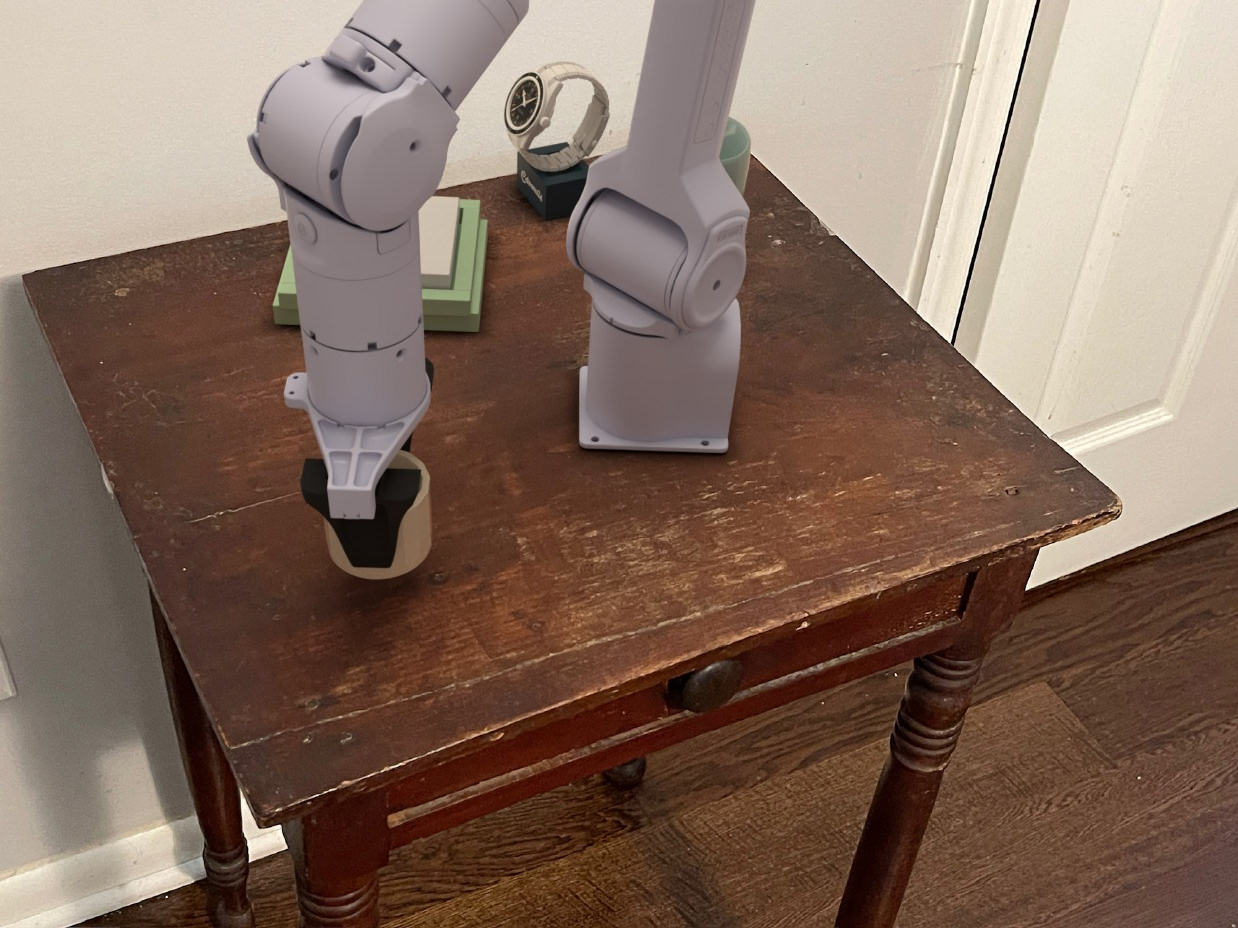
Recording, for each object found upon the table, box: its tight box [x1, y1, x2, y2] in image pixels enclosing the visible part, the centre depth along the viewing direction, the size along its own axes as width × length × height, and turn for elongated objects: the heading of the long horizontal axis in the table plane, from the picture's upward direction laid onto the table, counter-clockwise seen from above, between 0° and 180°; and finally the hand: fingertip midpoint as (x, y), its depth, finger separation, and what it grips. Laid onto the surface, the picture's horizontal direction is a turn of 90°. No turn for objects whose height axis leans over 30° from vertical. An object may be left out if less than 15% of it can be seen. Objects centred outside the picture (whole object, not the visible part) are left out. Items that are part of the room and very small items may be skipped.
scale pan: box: [418, 195, 461, 290], centre depth 96 cm, size 10×10×2 cm
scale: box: [272, 198, 489, 333], centre depth 97 cm, size 14×13×3 cm
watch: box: [503, 60, 611, 222], centre depth 104 cm, size 6×8×11 cm
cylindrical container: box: [323, 450, 433, 580], centre depth 72 cm, size 6×6×4 cm
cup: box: [719, 116, 752, 200], centre depth 100 cm, size 8×8×10 cm
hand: (378, 520), depth 73 cm, fingers closed on cylindrical container, 5 cm apart
